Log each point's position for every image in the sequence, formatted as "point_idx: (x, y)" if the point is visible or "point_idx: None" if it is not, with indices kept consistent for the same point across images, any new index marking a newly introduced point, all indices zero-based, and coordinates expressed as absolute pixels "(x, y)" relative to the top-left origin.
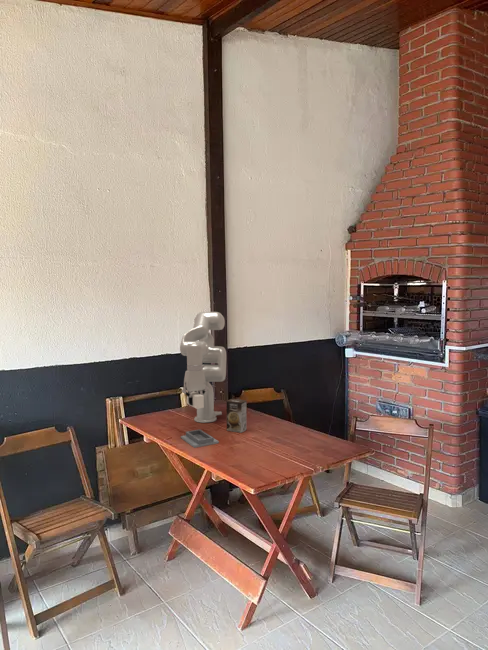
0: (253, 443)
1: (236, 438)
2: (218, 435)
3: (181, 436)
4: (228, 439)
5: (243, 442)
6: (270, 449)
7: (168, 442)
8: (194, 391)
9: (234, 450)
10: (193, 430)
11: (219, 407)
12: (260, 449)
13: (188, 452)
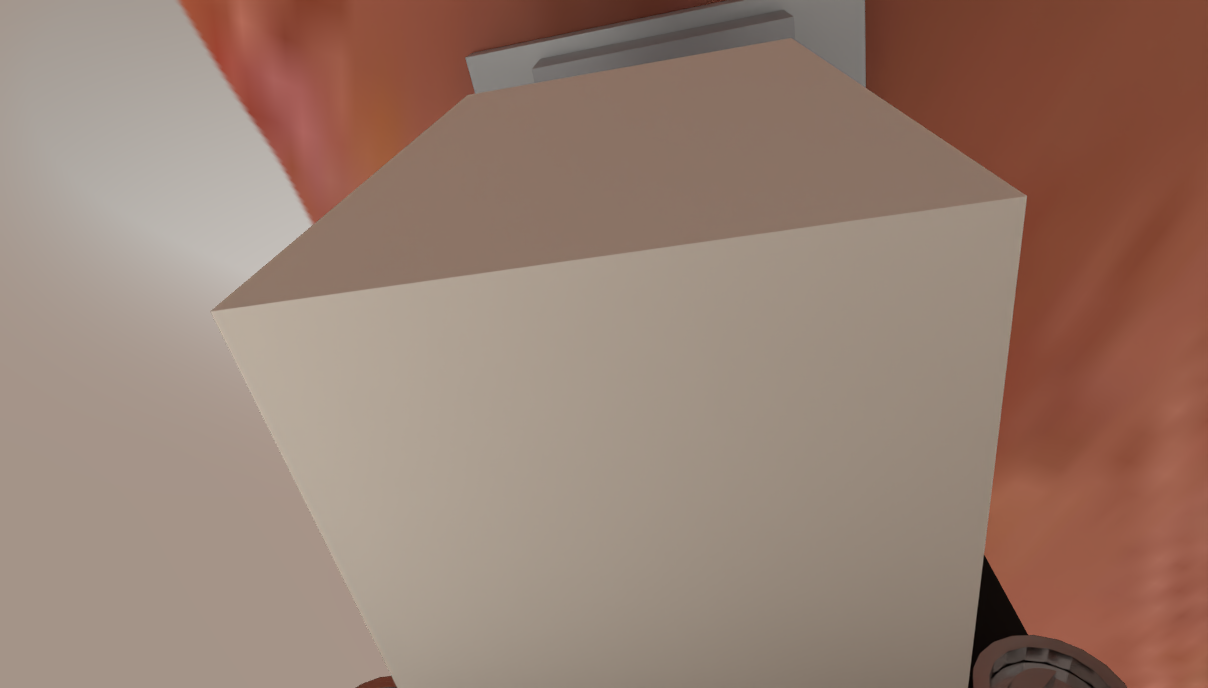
0: (1182, 517)
1: (1144, 326)
2: (1015, 128)
3: (473, 77)
4: (1034, 326)
5: (1115, 463)
6: (1190, 666)
7: (303, 177)
8: (993, 331)
9: None
10: (668, 44)
11: None
12: (1116, 643)
13: None
